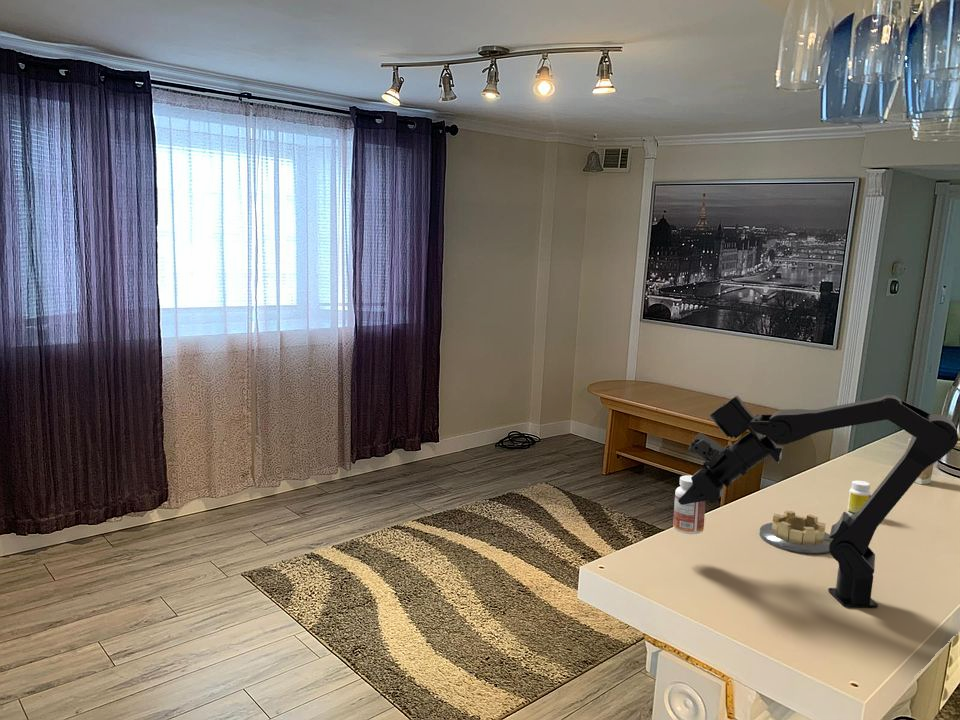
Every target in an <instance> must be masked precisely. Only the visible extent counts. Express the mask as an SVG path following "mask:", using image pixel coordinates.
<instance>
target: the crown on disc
mask: <svg viewBox="0 0 960 720" xmlns="http://www.w3.org/2000/svg"><path fill="white" fill-rule="evenodd" d="M818 519H819V518H818V516H815V515H813V514H807V515H806V517H805V516H801V515H796V512H795V511H794V510H784V514H779V513H773V515H772V522H769V523H765V524H762V525H761V526H760V528H759V536H760V538H761V539H762V540H763V541H764V542H765V543H767V544H769V545H771V546H773V547H775V548H778V549H781V550H784V551H787V552H791V553H795V554H801V555H802V554H803V555H812V556H815V555H827V554H830V550H829V545H830V540H831V538H829V537H830V533H827V532H826V522H825V523H824V522H819V521H818Z"/></svg>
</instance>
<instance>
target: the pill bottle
mask: <svg viewBox="0 0 960 720" xmlns="http://www.w3.org/2000/svg"><path fill="white" fill-rule="evenodd" d="M692 476H693V475H690V474H689V475H688V474H687V475H681V476H680V477H679V485H680V486H678V487H677V488H676V489H675V493H674V504H673V505H674V507H673V519H672V520H673V521H672V526H673V527H672V528H673V529H674V530H675V531H677V532H678V533H682V534H685V535H698V534H701V533H703V531H704V530H705V529H704V528H705V512H706V502H707V501H703V502H696V503H690V504H684V505H681V504H680V503H679V502H678V500H679V499H680V498H681V497H682V496H683V495H684V494H685V492H686V491H687V490H688V489H689V488H690V487H691V486H692V479H691V477H692Z"/></svg>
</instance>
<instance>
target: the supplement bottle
mask: <svg viewBox="0 0 960 720" xmlns="http://www.w3.org/2000/svg"><path fill="white" fill-rule="evenodd" d="M870 489H871V483H869V482H868V481H864V480H852V482H851V487H850V489H849V491H848V492H849V493H848V501H847V509H846V513H847V514H848V515H849V516H851V515H853V514H855V513H856V512H858V511H859V510H860V509H861V507H862V506H863V505H864V504H865V502H866V501H867V500H868V499H869V497H870V496H871V495H872V494H871V491H870Z"/></svg>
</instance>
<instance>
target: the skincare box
mask: <svg viewBox="0 0 960 720" xmlns="http://www.w3.org/2000/svg"><path fill="white" fill-rule="evenodd" d="M910 440H911V438H907V446H906V448H907V447H908V445H909V443H910ZM934 464H935V463H934ZM934 464H932V465H931V466H929V467H927V468H926V469H925V470H924V471H923V472H922V473H921V474H920V476H919V477H918V478H917V479H916V480H915V482H914V483H916V484H918V485H927V484H931V481H932V475H933V472H934V471H933V470H934Z"/></svg>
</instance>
